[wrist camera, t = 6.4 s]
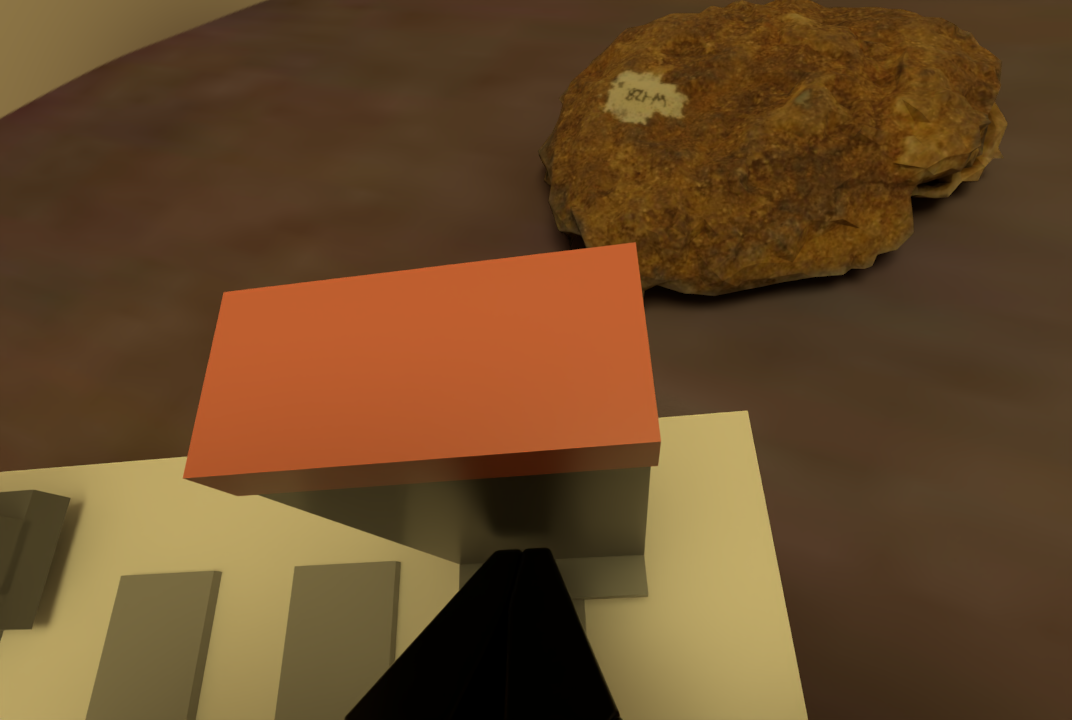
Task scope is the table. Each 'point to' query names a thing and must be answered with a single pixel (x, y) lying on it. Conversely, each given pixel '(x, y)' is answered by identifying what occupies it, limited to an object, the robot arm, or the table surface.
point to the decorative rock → (769, 140)
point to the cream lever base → (377, 599)
